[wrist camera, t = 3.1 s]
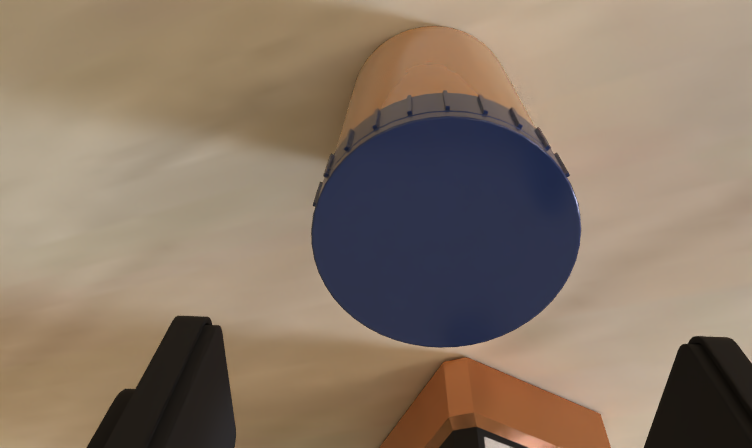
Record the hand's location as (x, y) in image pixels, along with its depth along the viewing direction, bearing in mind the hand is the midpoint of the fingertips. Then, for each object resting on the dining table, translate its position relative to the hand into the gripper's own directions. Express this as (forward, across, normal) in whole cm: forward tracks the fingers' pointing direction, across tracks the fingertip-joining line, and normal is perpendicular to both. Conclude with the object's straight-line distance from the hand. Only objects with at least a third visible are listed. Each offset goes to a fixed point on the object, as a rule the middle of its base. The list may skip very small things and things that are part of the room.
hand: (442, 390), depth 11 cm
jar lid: (+5, 0, 0) cm, 5 cm away
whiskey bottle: (+16, -5, +20) cm, 26 cm away
